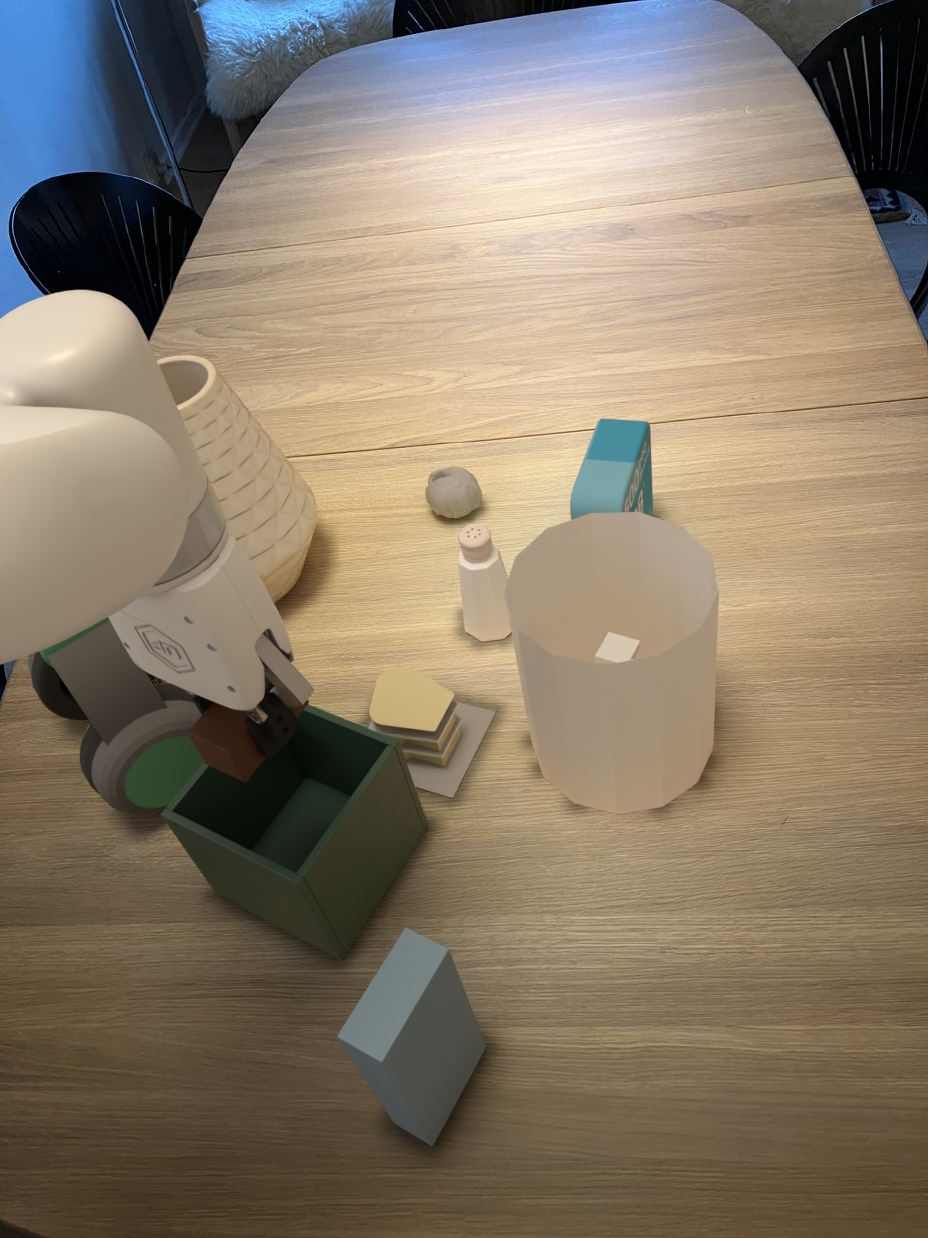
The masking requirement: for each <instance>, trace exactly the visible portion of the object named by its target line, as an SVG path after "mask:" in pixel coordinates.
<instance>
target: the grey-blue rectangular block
mask: <svg viewBox="0 0 928 1238" xmlns="http://www.w3.org/2000/svg"><path fill="white" fill-rule="evenodd" d="M336 1038H337V1039H338V1041H339V1042H340V1044H341V1045H342V1047H343V1048H344V1050H345V1051H346V1053H347V1055H348V1056H349V1057H350V1059H351V1060H352V1062H353V1064H354V1065H355V1066H356V1068H357V1069H358V1071H359V1072H360V1074H361V1076H362V1077H363V1079H364V1080H365V1081H366V1084H368V1087H370V1089H371V1091H372V1092H373V1094H374V1095H375V1097H376V1099H378V1101H379V1103H380V1104H381V1106H382V1107H383V1109H384V1110H385V1112H386V1113H387V1115H388V1116H389V1118H390V1119H391V1121H392V1122H393V1124H394V1125H396V1126H398V1128H400V1129H402V1130H404V1131H406V1132H407V1133H409V1134H411V1135H412V1136H414V1137H416V1138H418V1139H419V1140H420V1141H422V1142H424V1143H426V1144H427V1145H429V1146H431V1147H433V1146H434V1145H435V1144H436V1141H437V1139H438V1138H439V1136H440V1134H441V1133H442V1130H443V1128H444V1127H445V1125H446V1123H447V1121H448V1119H449V1117H450V1116H451V1114H452V1112H453V1110H454V1108H455V1106H456V1105H457V1103H458V1101H459V1099H460V1097H461V1095H462V1094H463V1091H464V1089H465V1088H466V1085H467V1084H468V1082H469V1080H470V1078H471V1077H472V1075H473V1073H474V1071H475V1069H476V1067H477V1065H478V1064H479V1061H480V1060H481V1059H482V1056H483V1055H484V1053H485V1050H486V1049H487V1044H486V1041H485V1039H484V1036H483V1033H482V1031H481V1028H480V1025H479V1023H478V1021H477V1018H476V1015H475V1013H474V1010H473V1008H472V1005H471V1002H470V1000H469V997H468V995H467V992H466V990H465V986H464V985H463V981H462V979H461V977H460V974H459V971H458V969H457V967H456V964H455V960H454V958H453V955H452V954H451V951H450V948H448V947H446V946H444V945H442V944H440V943H438V942H436V941H434V940H433V939H430V938H428V937H426V936H424V935H422V934H421V933H418V932H416V931H414V930H412V929H410V928H408V927H404V929H403V930H402V932H401V933H400V935H399V936H398V938H397V940H396V941H395V943H394V945H393V946H392V948H391V949H390V951H389V952H388V954H387V956H386V957H385V959H384V961H383V962H382V964H381V965H380V967H379V969H378V970H377V972H376V973H375V975H374V976H373V978H372V980H371V981H370V983H369V984H368V986H367V988H366V989H365V991H364V992H363V994H362V996H361V997H360V999H359V1000H358V1002H357V1003H356V1004H355V1006H354V1008H353V1010H352V1012H351V1013H350V1015H349V1016H348V1017H347V1020H346V1021H345V1022H344V1024H343V1026H342V1028H340V1031H339V1032H338V1034H337V1035H336Z"/></svg>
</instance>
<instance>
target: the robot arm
mask: <svg viewBox="0 0 928 1238" xmlns="http://www.w3.org/2000/svg"><path fill="white" fill-rule="evenodd" d="M157 360H158V359H157V357H156V356H155V353H154V351H153V349H152V347H151V344H150V342H149V340H148V337H147V335H146V333H145V332H144V329H143V327H142V325H141V323H140V321H139V320H138V317H137V316H136V315H135V314H134V312H133V311H132V310H131V309H130V308H129V307H128V306H127V305H126V304H125V303H124V302H123V301H121V300H120V299H117V298H116V297H114V296H113V295H111V294H108V293H105V292H101V291H96V290H90V289H73V290H63V291H59V292H54V293H50V294H46V295H43V296H41V297H37V298H34V299H33V300H30V301H28V302H26V303H23V304H21V305H19V306H17V307H16V308H14V309H12V310H11V311H9V312H7V313H6V314H5V315H3V316H2V317H0V665H3V664H6V663H10V662H13V661H16V660H20V659H23V658H25V657H28V655H31V654H33V653H36V652H39V651H41V650H44V649H46V648H49V647H51V646H53V645H55V644H58V643H60V642H62V641H64V640H66V639H68V638H70V637H72V636H74V635H76V634H77V633H79V632H81V631H83V630H85V629H87V628H89V627H91V626H93V625H94V624H96V623H98V622H100V621H102V620H104V619H105V618H107V617H109V619H110V621H111V623H112V625H113V627H114V629H115V631H116V633H117V634H118V636H119V638H120V640H121V642H122V643H123V645H124V647H125V649H126V650H127V652H128V654H129V655H130V657H131V659H132V660H133V662H134V663H135V664H136V665H137V666H139V667H140V668H141V669H143V670H144V671H146V672H147V673H149V674H151V675H153V676H155V677H154V678H158V679H160V680H162V681H164V682H165V683H170V684H173V685H176V686H178V687H180V688H182V689H183V690H184V691H186V692H187V693H189V694H191V695H195V694H196V696H195V697H194V699H193V701H194V703H195V704H196V706H197V708H198V710H199V711H200V713H201V715H203V714H204V712H205V711H206V710H207V709H208V708H209V707H210V706H211V704H212V703H213V702H216V703H218V704H221V705H223V706H226V707H229V708H231V709H235V710H245V711H246V713H247V714H248V716H247V718H246V719H245V724H246V726H247V727H248V729H249V731H250V733H251V735H252V737H253V739H254V741H255V743H256V745H257V746H258V748H259V750H260V752H261V754H262V756H264V757H266V758H268V759H272V758H273V757H274V756H275V755H276V753H277V752H278V751H279V750H280V748H281V747H282V746H283V745H284V744H286V743H287V742H288V741H289V740H290V738H291V737H292V735H293V734H294V731H295V729H296V728H297V726H298V720H297V718H296V716H295V714H294V712H293V710H292V707H302V706H303V704H304V703H305V702H306V701H307V699H308V700H309V698H310V697H311V696H312V695H313V693H314V692H315V688H314V687H313V685H312V684H311V683H310V682H309V681H308V680H307V678H305V676H303V675H302V673H301V672H300V671H299V669H297V668H296V667H295V666H294V664H293V662H294V660H295V653H294V647H293V644H292V641H291V638H290V634H289V632H288V629H287V627H286V625H285V623H284V621H283V618H282V617H281V614H280V612H279V610H278V608H277V606H276V604H275V603H274V602H273V601H272V599H271V597H270V595H269V593H268V591H267V589H266V588H265V586H264V584H263V582H262V580H261V579H260V577H259V575H258V574H257V572H256V570H255V569H254V567H253V565H252V564H251V562H250V561H249V559H248V557H247V556H246V554H245V553H244V551H243V550H242V549H241V547H240V546H239V544H238V543H237V541H236V540H235V538H234V537H233V536H232V535H230V534H229V533H228V522H227V519H226V517H225V515H224V512H223V510H222V507H221V505H220V503H219V501H218V498H217V496H216V494H215V492H214V489H213V487H212V485H211V482H210V480H209V478H208V476H207V473H206V472H205V470H204V468H203V465H202V463H201V461H200V458H199V456H198V454H197V451H196V449H195V447H194V445H193V442H192V440H191V438H190V435H189V433H188V431H187V428H186V426H185V424H184V421H183V419H182V417H181V414H180V412H179V410H178V408H177V405H176V403H175V401H174V399H173V396H172V394H171V392H170V390H169V387H168V385H167V383H166V380H165V378H164V376H163V374H162V371H161V369H160V367H159V365H158V362H157ZM265 682H266V684H267V685H268V687H266V688H265Z"/></svg>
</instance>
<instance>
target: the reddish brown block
mask: <svg viewBox="0 0 928 1238" xmlns="http://www.w3.org/2000/svg"><path fill="white" fill-rule="evenodd" d="M266 687H268V685H267V684H266V682H265V688H266ZM308 704H310V701H309V698H308V699H307V701H306V702H305V703H304V704H303V706H302V707H292V710H293V712H294V714H295V716H296V718H297V717H298V716H299V715H300V714H301V712H302V711H303V710H304V708H305V707H306V706H307V705H308ZM247 716H248V714H247V713H246V711H245V710H235V709H231V708H229V707H226V706H223V705H221V704H218V703H216V702H213V703H212V704H211V706H210V707H209V708H208V709H207V710H206V711H205V712H204V714H203V715H202V716H201V717H200V718H199V719H198V721H197V722H196V723H195V724H194V725H193V726H192V728H191V729H190V730H189V731H188V732H187V734H188V735H189V737H190V739H191V740H192V742H193V744H194V745H195V747H196V749H197V750H198V752H199V754H200V755H201V757H202V759H203V760H204V762H205V764H207V765H209V766H211V767H213V768H215V769H217V770H220V771H222V772H224V773H226V774H228V775H230V776H233V777H235V778H237V779H239V780H241V781H243V782H247V781H248V779H249V778H250V777H251V776H252V774H253V773H254V772H255V770H256V769H257V768H258V767H259V765H260V764H261V763H262V762H263V760H264V759H265V758H266V757H264V756H262V754H261V752H260V750H259V748H258V746H257V745H256V743H255V741H254V739H253V737H252V735H251V733H250V731H249V729H248V727H247V726H246V724H245V719H246V718H247Z"/></svg>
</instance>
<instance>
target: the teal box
mask: <svg viewBox="0 0 928 1238" xmlns="http://www.w3.org/2000/svg"><path fill="white" fill-rule="evenodd" d="M651 432H652V431H651V424H650V422H649V421H645V420H633V419H632V420H629V419H618V418H616V419H615V418H600V419H599V420H598V421H597V422H596V424H595V428H594V431H593V433H592V436H591V439H590V441H589V444H588V447H587V449H586V452H585V454H584V457H583V460H582V462H581V465H580V468H579V471H578V472H577V476H576V479H575V481H574V484H573V487H572V489H571V494H570V502H569V512H570V520H572V519H575V518H578V517H581V516H584V515H586V514H589V513H611V512H641V513H644V514H647V515H649V516H652V517H653V509H654V496H653V469H652V468H653V466H652V465H653V464H652V463H653V462H652V435H651Z"/></svg>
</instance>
